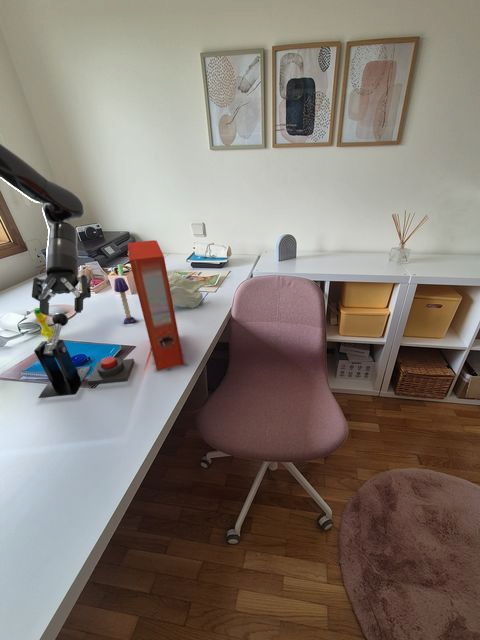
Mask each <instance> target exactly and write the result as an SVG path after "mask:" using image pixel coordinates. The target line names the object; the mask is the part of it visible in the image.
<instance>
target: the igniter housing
mask: <svg viewBox="0 0 480 640" xmlns="http://www.w3.org/2000/svg"><path fill="white" fill-rule="evenodd" d="M114 358H115V360H116V363H117V365H116V366H115V367H113V368H110V369H104V368H103V367H102V364H101V361H97V362H96V365H95V366H94V368H93V370H92V372H91V373H90V375H89V377H88V379H87V381H86V383H87V384H88V386H92V385H103V384H112V383H113V384H114V383H124V382H128V380H129V378H130V375H131V372H132V369H133V368H134V365H135V359H134V358H128V359H127V358H125V359H121V357H120V358H119V357H114Z"/></svg>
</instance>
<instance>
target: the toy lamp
mask: <svg viewBox="0 0 480 640" xmlns="http://www.w3.org/2000/svg"><path fill="white" fill-rule="evenodd" d="M113 288H114V292H116V293H119V294H120V298H121V302H122V306H123V311H124V314H125V318H124V319H123V324H124V325H133V324H135V323H136V322H137V320H136V318H135V317H133V316H132V315H131V311H130V307H129V302H128V298H127V295H126V292H127V291H129V290H130V287H129V286H128V284H127V282H126V280H125V278H123V277H116V278H115V279H114V287H113Z"/></svg>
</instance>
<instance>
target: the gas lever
mask: <svg viewBox="0 0 480 640" xmlns="http://www.w3.org/2000/svg"><path fill="white" fill-rule="evenodd" d="M51 320H52V323H53V324H54V328H53V330H54V332H53V336H52V338H50V339H51V340H50V343H48V344H46V346H45V349H44V353H43V354H44V355H45V356H47V357H48V358H55V356H54V354H53V352H52V350H51V349H52V348H53V347H54V345H55V344H56V343H57V342H58V341H59V340H60V339H59V338H60V335H61V332H62V331H61V330H62V327H64V326H66V325H67V324H68V323H69V317H68V316H67V315H66V314H65V313H62V312H57V313H55V314H54V315H53V316H52V317H51ZM55 359H56V358H55Z"/></svg>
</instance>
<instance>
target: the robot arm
mask: <svg viewBox="0 0 480 640" xmlns="http://www.w3.org/2000/svg"><path fill="white" fill-rule="evenodd" d="M0 179H2V180H3V181H4V182H6V183H7V184H8V185H9V186H11V187H12V188H14V189H15V190H17V191H18V192H20V194H22V195H23V196H25V197H27V199H29V200H31V201H33V202H34V203H37V204H38V203H39V204H42V206H41V207H42V208H41V209H42V213H43V217H44V219H45V223H46V226H47V229H48V236H47V239H48V240H47V245H46V246H47V247H46V260H45V261H46V263H45V272H46V277H45V278H38V277H34V278H33V279H32V290H31V298H32V299H34V300H36V301H38V302H39V307H38V308H39V310H40V312H41V313H42V314H44V315H46V316H49V315H50V300H51V299H52V298H54V297H56V296H57V295H61V294H70V293H72V294H73V295H74V296H75V297H74V312H76V313H77V314H81V313H82V311H83V310H84V300H85V299H90V298H91V297H92V293H91V292H92V291H91V280H90V278H89V277H88V276H86V275H85V274H82V275H80V276H79V250H78V230H77V228H76V227H75V226H74V225H72V224H71V223H68V222H70V221H75V220H78V219H81V218H82V217H83V216H84V214H85V206H84V203H83V202H82V201H81V199H80V198H79V196H77V195H76V194H75V193H73V192H72V191H70V190H68V189H67V188H65V187H63V186H61V185H60V184H57V183H55V182H53V181H51V180H49V179H48V178H46V177H45V176H44V175H43V174H41V173H40V172H39V171H38V170H37V169H35V168H34V167H33V166H32V165H30V164H29V163H28V162H27V161H25V160H24V159H23V158H21V157H19V155H17V154H15V153H14V152H13V151H11V150H10V149H9V148H8V147H6V146H4V145H3V144H1V143H0ZM79 283H80V284H81V292H80V290H79V289H78V288H77V286H78V285H79Z"/></svg>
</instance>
